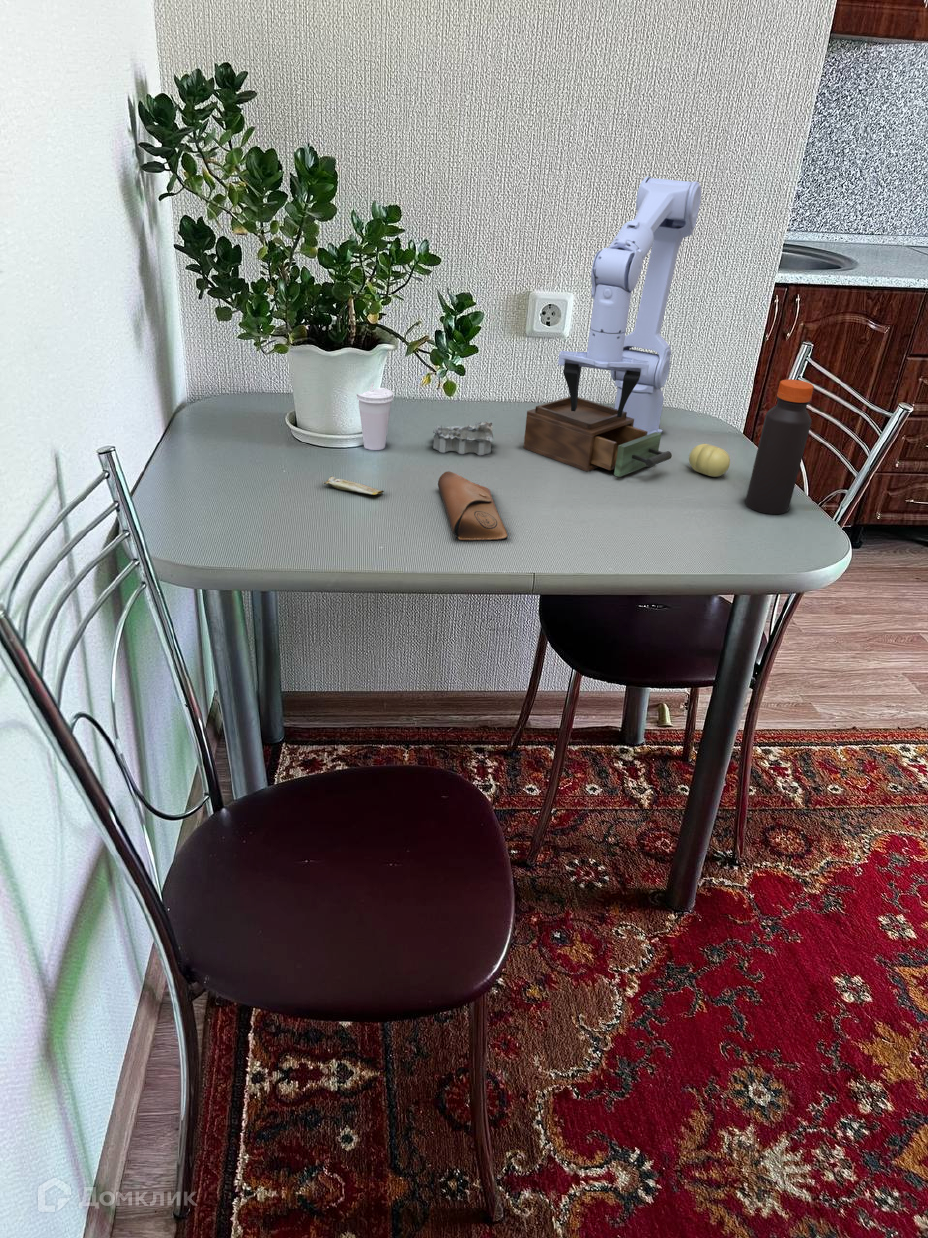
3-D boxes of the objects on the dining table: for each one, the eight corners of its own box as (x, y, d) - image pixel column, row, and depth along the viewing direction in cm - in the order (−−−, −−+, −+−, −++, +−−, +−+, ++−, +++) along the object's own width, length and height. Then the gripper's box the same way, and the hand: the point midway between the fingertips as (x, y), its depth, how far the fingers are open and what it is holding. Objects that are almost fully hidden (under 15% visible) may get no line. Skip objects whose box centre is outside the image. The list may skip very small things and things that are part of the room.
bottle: (788, 502, 147) (820, 381, 137) (787, 518, 142) (820, 392, 131) (746, 495, 149) (774, 374, 139) (743, 510, 143) (772, 386, 133)
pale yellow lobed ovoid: (696, 464, 160) (701, 437, 158) (732, 476, 156) (738, 449, 153) (681, 470, 157) (686, 443, 154) (717, 483, 153) (723, 455, 150)
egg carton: (493, 443, 163) (495, 421, 161) (490, 458, 157) (492, 435, 155) (435, 438, 164) (436, 416, 162) (429, 451, 158) (430, 429, 156)
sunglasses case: (512, 536, 128) (491, 499, 125) (469, 560, 129) (447, 524, 126) (489, 488, 144) (470, 453, 140) (450, 509, 144) (431, 475, 141)
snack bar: (384, 489, 140) (376, 489, 137) (383, 499, 140) (374, 499, 138) (332, 475, 143) (322, 475, 140) (330, 485, 144) (320, 484, 141)
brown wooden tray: (572, 400, 165) (573, 395, 165) (626, 417, 159) (627, 412, 158) (535, 411, 159) (535, 406, 158) (589, 429, 152) (590, 424, 151)
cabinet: (628, 455, 162) (634, 418, 158) (587, 471, 154) (592, 432, 150) (565, 434, 170) (570, 398, 167) (523, 448, 162) (526, 410, 159)
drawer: (677, 469, 155) (682, 440, 153) (640, 484, 148) (645, 454, 145) (595, 441, 165) (598, 413, 163) (557, 454, 158) (560, 425, 155)
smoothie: (356, 439, 161) (356, 361, 154) (392, 440, 162) (393, 362, 154) (355, 452, 155) (355, 371, 148) (393, 453, 156) (394, 372, 149)
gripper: (559, 329, 141) (550, 413, 148) (652, 340, 139) (638, 425, 146) (565, 320, 147) (556, 401, 154) (654, 330, 145) (641, 412, 152)
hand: (596, 412), depth 150 cm, fingers open, 7 cm apart
